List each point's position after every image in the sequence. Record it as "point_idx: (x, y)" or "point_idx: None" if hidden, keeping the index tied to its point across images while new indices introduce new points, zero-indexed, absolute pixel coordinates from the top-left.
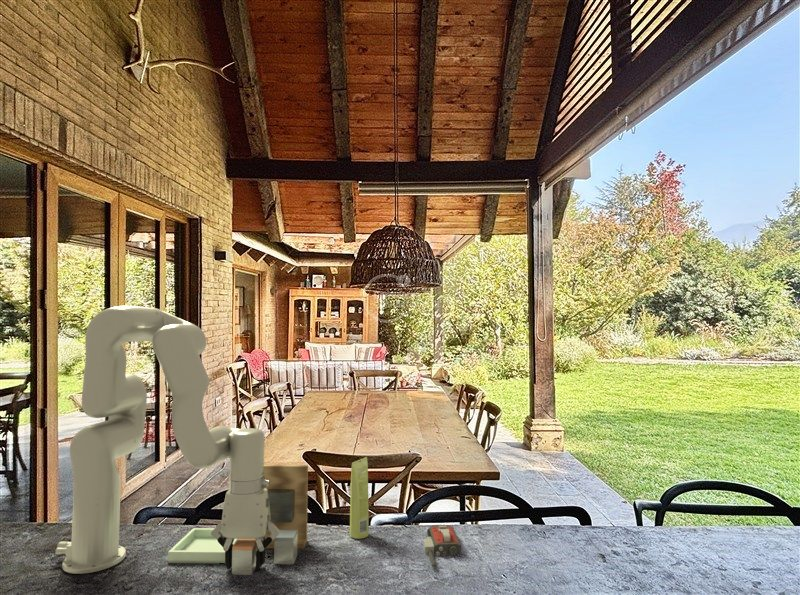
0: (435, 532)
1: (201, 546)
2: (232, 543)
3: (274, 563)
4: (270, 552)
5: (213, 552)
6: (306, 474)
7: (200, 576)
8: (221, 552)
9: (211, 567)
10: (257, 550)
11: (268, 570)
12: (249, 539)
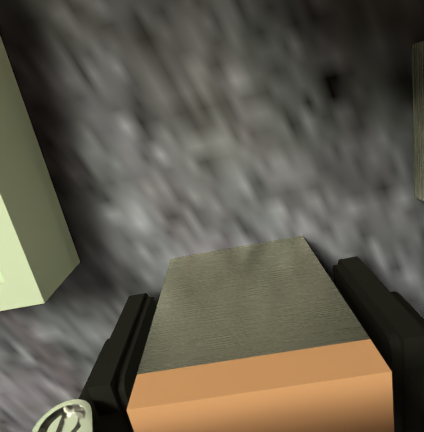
0: None
1: None
2: (95, 430)
3: (419, 196)
4: (316, 4)
5: None
6: None
7: (43, 410)
8: (3, 309)
9: (24, 320)
10: (395, 415)
11: (403, 284)
12: (282, 414)
